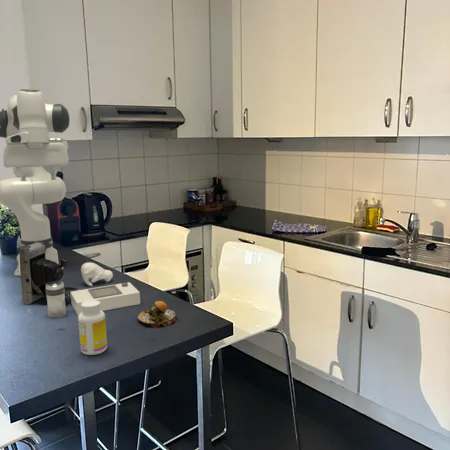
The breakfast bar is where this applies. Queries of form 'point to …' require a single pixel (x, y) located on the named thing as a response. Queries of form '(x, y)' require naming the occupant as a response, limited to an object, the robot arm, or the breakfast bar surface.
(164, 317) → the burger
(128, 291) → the camera body
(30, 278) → the vintage camera
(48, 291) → the lens
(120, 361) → the breakfast bar surface
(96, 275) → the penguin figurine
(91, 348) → the supplement bottle
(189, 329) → the breakfast bar surface
